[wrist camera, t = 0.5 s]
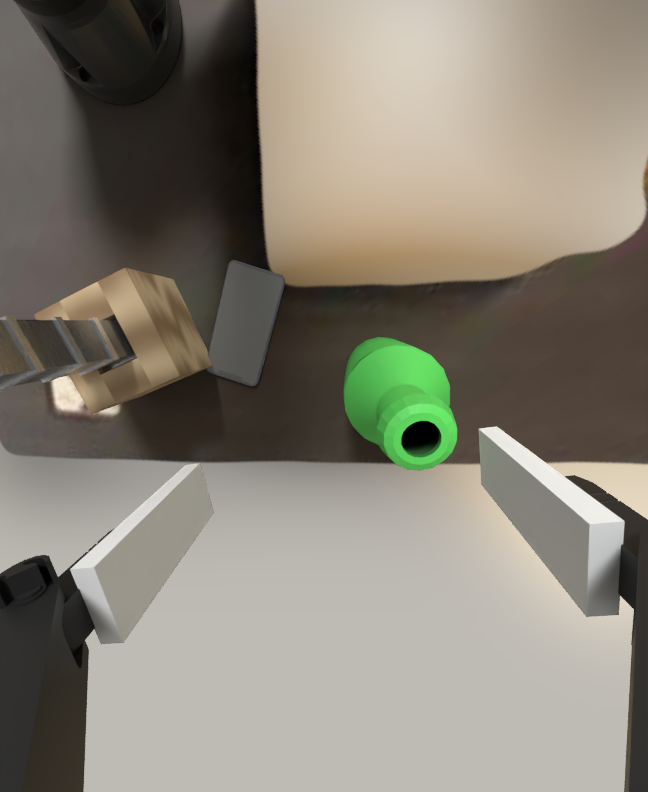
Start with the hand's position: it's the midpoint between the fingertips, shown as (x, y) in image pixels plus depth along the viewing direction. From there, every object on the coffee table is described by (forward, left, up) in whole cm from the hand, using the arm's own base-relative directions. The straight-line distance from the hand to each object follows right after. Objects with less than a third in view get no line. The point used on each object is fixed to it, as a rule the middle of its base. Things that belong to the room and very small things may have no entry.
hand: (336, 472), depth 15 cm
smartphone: (-11, -10, -29) cm, 32 cm away
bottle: (+1, +4, -28) cm, 28 cm away
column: (-14, -22, -28) cm, 38 cm away
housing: (-14, -22, -28) cm, 38 cm away
